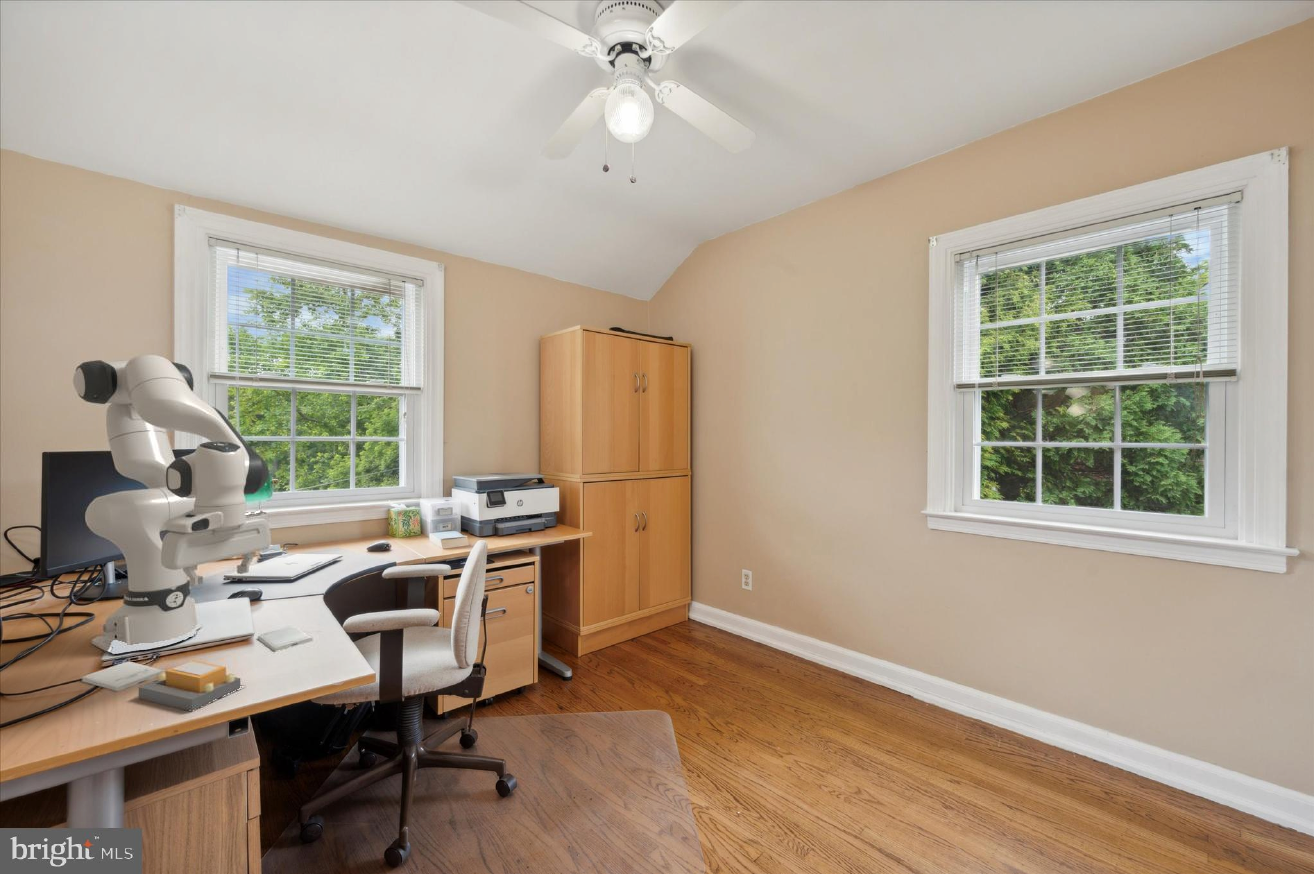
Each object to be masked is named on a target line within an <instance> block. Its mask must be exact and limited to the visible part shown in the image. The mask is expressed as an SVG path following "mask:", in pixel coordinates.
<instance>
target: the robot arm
mask: <svg viewBox="0 0 1314 874" xmlns="http://www.w3.org/2000/svg"><path fill="white" fill-rule="evenodd" d="M72 377H73V378H72V383H73V387H74V389H75V391H76V393H77V395H78V397H79V398H81V399H82V400H83V401H84V402H87V403H91V404H97V405H105V404H109V405H108V407H107V409H106V414H105V415H106V416H105V418H106V419H105V421H106V424H105V426H106V435H107V439H108V444H109V448H110V452H111V453H110V454H111V456H112V460H113V463H114V468H115V470H116V471H117V472H118V473H119V474H120V475H121V476H123V477H125V478H127V479H132V480H134V481H137V482H140V483H141V484H143V485H144V486H145V487H147V488H142V489H131V490H122V491H117V492H113V493H112V492H111V493H109V494H105V495H101V496H98V497H96V498H94V499H93V500H92V501H91V502H90V503H89V505H88V506H87V508H86V511H85V512H84V513H85V515H84V519H85V523H86V526H87V527H88V528H89V530H90V531H91V532H93V534H95V535H97V536H98V537H101V538H104V539H106V540H108V541H110V542H111V543H112V544H114V545H115V546H116V547H117V548H118V549H119V551H120V552H121V553H122V555H123V556H124V559H125V563H126V564H125V565H126V570H127V580H128V581H127V583H128V588H126V589H124V590H122V592H125V593H122V595H123V602H122V603H123V604H122V605H121V606H119V608H117V609H116V610H115V611H114V612H113V613H112V614H110V615H108V617H107V618H105V619H106V620H105V622H104V623H103V625H102V631H103V634H100V635H98V636H96V637H94V638H92V639H91V644H92V645H94V646H96V647H97V648H99V649H101V650H103V651H105V652H106V650H108V649H109V647H110V645H111V642H112V641H113V640H118V641H122V642H125V643H127V645H133V644H139V643H154V642H159V641H165V640H170V639H172V638H178V637H179V636H183V635H185V634H187V633H188V632H191V631H192V630H193V629H195V627H196V625H197V623H198V619H197V618H198V617H197V610H196V609H197V608H196V604H195V603H196V601H195V599H194V598H192V597H190V595H191V589H192V587H197V586H201V585H203V584H204V581H203V580H204V576H202V575H198V574H197V573H196V572H195V571H198V566H200V565H204V564H207V563H212V562H217V561H220V560H226V559H229V558H234V557H238V556H241V557H243V558H242V560H241V563H240V564H238V565H236V572H237V574H240V575H243V574H248V573H249V571H250V565H251V563H252V562H253V559H254V557H255V553H256V552H259V551H264V550H268V549H269V547H270V546H271V545H272V538H271V537H272V536H271V530H270V525H269V523H270V522H269V520H270V519H269V515H268V513H267V512H265V511H263V510H260V509H259V510H254V511H247V500H246V497H245V495H255V494H256V493H257V492H258V491H260V490H261V489H262V488H263V487H264V486H265V484H266V483H267V482H268V481H269V477H270V470H269V465H268V464H267V462H266V461H265V460H264V458H263V457H262V456H261V455H260V454H258V453H257V452H256V451H255V450H254V449H252V448H251V446H250V445H249V444H248V442H247V441H246V440H245V439H244V438H243V437H242V435H241V434H240V433H239V432H238V430H237V429H236V428H235V427H234V426H233V424H232V423H231V422H230V420H228V418H227V417H226V416H225V415H224V414H223V412H222V411H220V410H219V409H218V408H215V407H214V406H212V405H210V404H208V403H207V402H205V401H204V400H202V398H200V397H198V396H197V395H196V393H194V392H193V391H194V387H195V385H194V384H195V382H194V377H193V373H192V372H191V370H190V369H189V367H187V366H186V365H185V364H183V363H179V362H173V361H170V360H169V359H167V358H166V357H163V356H160V355H157V354H142V355H138V356H135V357H133V358H131V359H130V360H126V359H125V360H105V361H103V360H100V359H99V360H89V361H84V362H82V363H80V364H79V365H78V366H77V367H76V369H75V372H74V374H73V376H72ZM167 430H170V431H175V432H176V431H177V432H183V433H186V434H191V435H195V436H200V437H203V438H205V439H207V440H209V441H205V442H203V443H202V442H201V443H200V444H199V445H197V447H196V450H195V451H194V452H193V453H190V454H187V455H184V456H180V457H179V456H178V457H177V458H175V455H174V452H173V449H172V446H171V442H170V439H169V436H168V431H167ZM162 531H169V532H167V533H166V534H165V536H164V537H163V540H162V539H161V535H160V533H161V532H162ZM188 578H189V579H188Z"/></svg>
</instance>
